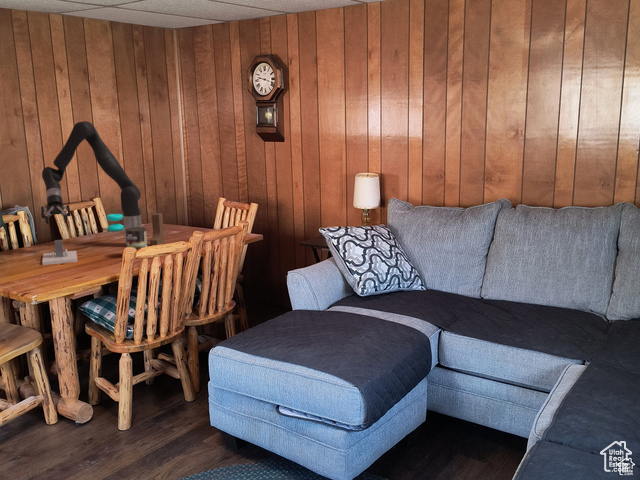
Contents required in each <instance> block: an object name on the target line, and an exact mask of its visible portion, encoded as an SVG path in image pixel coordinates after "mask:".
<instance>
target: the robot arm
mask: <svg viewBox="0 0 640 480" xmlns="http://www.w3.org/2000/svg"><path fill="white" fill-rule="evenodd" d="M84 140H85V141H86V143H88V145H89V147H91V149H92V152H93V155H94V156H95V157H94V158H95V159H96V162H97V163H98V165H99V167H100V168H101V169H102V171H103V172H104V173H105V174H106V176H108V177H109V178H110V179H112V180H113V181H114V182H115V183H116V184H117V185H118V186H119V189H120V190H121V192H120V204H121V211H122V215H123V226H124V235H125V236H124V237H125V246H126V247H127V238H126V229H128V228H134V227H142V225H143V224H142V215H141V214H142V213H141V209H140V208H139V200H140V198H141V196H142V195H141V191H140V189H139V187H138V186H137V185H136V184H135V183H134V182H133V181H132V179H131V178H130V177H129V176H128V174H127V173H126V171H125V170H124V169H123V166H122V165H121V164H120V162H119V161H118V159H117V158H116V157H115V155H114V154H113V152H111V150H110V149H109V147H108V146H107V145H106V143H105V142H104V140H103V139H102V138H101V136H100V134H99V132H98V130H97V129H96V127H95V125H94V124H93V123H91V122H89V121H87V120H84V121H83V120H82V121H79V122H76V123H75V124H74V125H73V127H72V130H71V132H70V135H69V136H68V139H67V140H66V142H65V144H64V145H63V147H62V148H61V150H60V151H59V153H58V154H57V155H56V157H55V158H54V160H53V165H54V166H55V167H56V168H57V169H55V168H53V167H51V166H46V167H44V168H43V170H42V172H41V177H42V180H43V182H44V185H45V186H46V202H47V204H46V205H47V206H46V207H44V206H41V207H40V210H41V211H40V216H41V219H45V224H46V225H50V222H49V218H50V217H51V216H52V215H53V216H55V215H61V216H63V219H64V224H67V222H68V217H71V216H72V215H71V209H70V205H69V204H66V205H64V204H63V203H64V202H63V195H62V189H61V184H60V182H61V181H62V180H63V177H64V175H65V171H66V169H67V167H68V166H69V164H70V163H71V161H72V160H73V157H74V156H75V153H76V150H77V148H78V147H79V146H80V144H81V143H82V142H83V141H84ZM65 210H66V211H67V212H65ZM45 212H46V213H45Z"/></svg>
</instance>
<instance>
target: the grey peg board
mask: <svg viewBox="0 0 640 480" xmlns="http://www.w3.org/2000/svg"><path fill="white" fill-rule="evenodd" d="M63 254H64V257H57V258H56V252H55V249H53V250H51V252H48V253H43V254H42V266H48V265H56V264H57V265H58V264H68V263H77V262H78V255H77V254H78V253H77V250H70V251H69V250H68V249H67V248H64V251H63Z"/></svg>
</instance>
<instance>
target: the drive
mask: <svg viewBox="0 0 640 480" xmlns="http://www.w3.org/2000/svg"><path fill="white" fill-rule="evenodd" d="M63 252H64V245H63V239H55V240H54V253H56V258H57V257H64V254H63Z"/></svg>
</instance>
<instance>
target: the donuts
mask: <svg viewBox="0 0 640 480" xmlns="http://www.w3.org/2000/svg"><path fill="white" fill-rule="evenodd" d="M105 218H106V220H107V221H110V222H117V221H121V220H123V219H124V215H123V213H110V214H107V215H106V217H105ZM107 230H108V231H109V232H121V231H123V230H125V228H124V224H121V223H111V224H109V225H108V226H107Z"/></svg>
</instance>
